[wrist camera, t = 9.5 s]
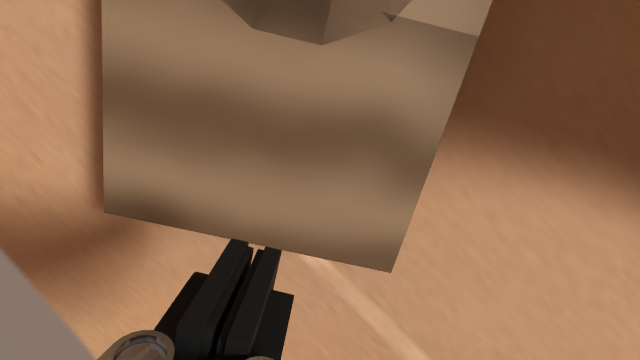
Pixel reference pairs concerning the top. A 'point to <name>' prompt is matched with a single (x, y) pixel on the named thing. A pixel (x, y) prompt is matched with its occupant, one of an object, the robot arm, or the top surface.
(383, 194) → the board
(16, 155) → the top surface
